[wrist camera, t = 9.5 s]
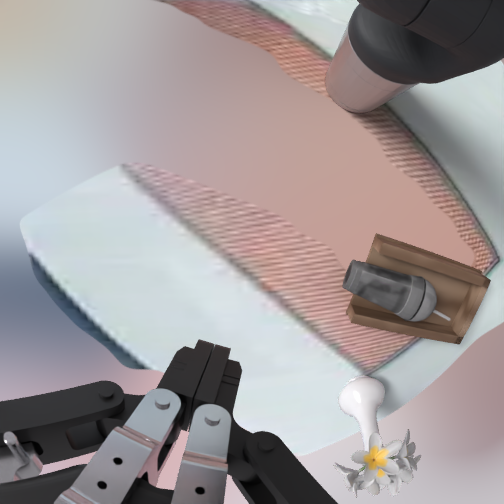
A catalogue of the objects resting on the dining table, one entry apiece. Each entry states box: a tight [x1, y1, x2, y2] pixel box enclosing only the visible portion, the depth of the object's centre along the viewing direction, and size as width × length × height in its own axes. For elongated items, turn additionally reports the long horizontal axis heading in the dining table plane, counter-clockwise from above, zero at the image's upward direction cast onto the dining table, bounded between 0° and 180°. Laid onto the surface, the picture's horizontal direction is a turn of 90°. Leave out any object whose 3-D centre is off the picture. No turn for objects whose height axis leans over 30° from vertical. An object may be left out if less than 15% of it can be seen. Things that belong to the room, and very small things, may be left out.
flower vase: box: [333, 375, 421, 498], centre depth 38 cm, size 13×18×25 cm
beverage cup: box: [343, 260, 450, 322], centre depth 40 cm, size 7×7×20 cm
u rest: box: [346, 234, 491, 344], centre depth 41 cm, size 14×24×4 cm, turn 76°
